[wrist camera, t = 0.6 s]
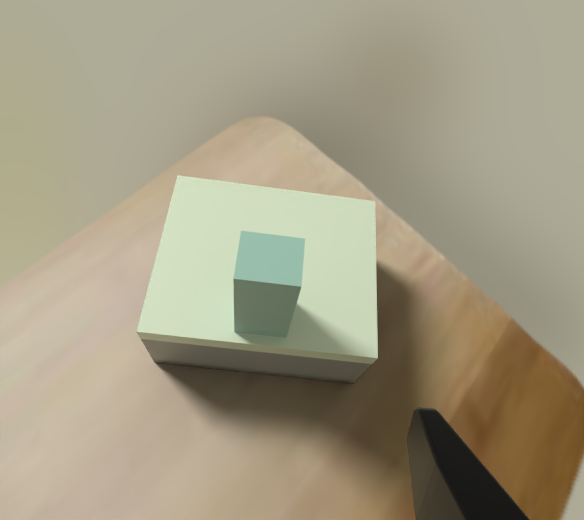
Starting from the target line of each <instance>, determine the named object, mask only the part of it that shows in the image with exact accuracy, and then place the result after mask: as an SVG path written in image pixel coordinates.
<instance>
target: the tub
mask: <svg viewBox="0 0 584 520" xmlns="http://www.w3.org/2000/svg"><path fill="white" fill-rule="evenodd" d="M141 340H142V342H143V343H144V345H145V347H146V349H147V350H148V352H149V354H150V355H151V357H152V359H153V360H154V362H155V363H164V364H173V365H183V366H192V367H202V368H211V369H220V370H230V371H239V372H249V373H258V374H268V375H277V376H286V377H296V378H305V379H315V380H324V381H333V382H343V383H352V384H353V383H354V382H355V381H356V380H357V379H358V378H359V377H360V376H361V375H362V374H363V373H364V372H365V371H366V370H367V369H368V368H369V367H370V366H371V365H372V364H366V363H357V362H348V361H339V360H330V359H320V358H311V357H302V356H293V355H284V354H275V353H265V352H256V351H247V350H238V349H229V348H220V347H211V346H201V345H192V344H183V343H174V342H165V341H156V340H146V339H141Z"/></svg>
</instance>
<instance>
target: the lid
mask: <svg viewBox="0 0 584 520" xmlns="http://www.w3.org/2000/svg"><path fill="white" fill-rule="evenodd" d="M137 333H138V335H139V337H140V338H141V339H146V340H156V341H165V342H174V343H183V344H192V345H201V346H211V347H220V348H229V349H238V350H247V351H256V352H265V353H275V354H284V355H293V356H302V357H311V358H320V359H330V360H339V361H348V362H357V363H366V364H373V363H374V362H375V361H376V360H377V359H378V336H377V282H376V228H375V201H370V200H362V199H354V198H347V197H339V196H331V195H324V194H316V193H309V192H301V191H293V190H286V189H278V188H270V187H263V186H255V185H247V184H240V183H232V182H225V181H217V180H209V179H202V178H194V177H186V176H179V175H178V176H177V180H176V184H175V188H174V191H173V195H172V199H171V203H170V207H169V210H168V214H167V218H166V222H165V226H164V229H163V233H162V237H161V241H160V244H159V248H158V252H157V256H156V260H155V263H154V267H153V271H152V275H151V279H150V282H149V286H148V290H147V294H146V298H145V301H144V305H143V309H142V313H141V316H140V320H139V324H138V328H137Z"/></svg>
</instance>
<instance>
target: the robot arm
mask: <svg viewBox="0 0 584 520" xmlns="http://www.w3.org/2000/svg"><path fill="white" fill-rule="evenodd" d="M407 444H408V454H409V463H410V472H411V481H412V490H413V499H414V508H415V515H416V520H530V519H529V518H528V517H527V516H526V515H525V514H524V512H523V511H522V510H521V509H520V508H519V506H518V505H517V504H516V503H515V502H514V501H513V499H512V498H511V497H510V496H509V495H508V493H507V492H506V491H505V490H504V489H503V488H502V486H501V485H500V484H499V483H498V482H497V480H496V479H495V478H494V477H493V476H492V474H491V473H490V472H489V471H488V470H487V469H486V467H485V466H484V465H483V464H482V463H481V461H480V460H479V459H478V458H477V457H476V456H475V454H474V453H473V452H472V451H471V450H470V448H469V447H468V446H467V445H466V444H465V443H464V441H463V440H462V439H461V438H460V437H459V435H458V434H457V433H456V432H455V431H454V430H453V428H452V427H451V426H450V425H449V424H448V422H447V421H446V420H445V419H444V418H443V417H442V415H441V414H440V413H439V412H438V411H437V410H435V409H432V408H416V409H415V411H414V413H413V417H412V420H411V424H410V428H409V432H408V438H407Z"/></svg>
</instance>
